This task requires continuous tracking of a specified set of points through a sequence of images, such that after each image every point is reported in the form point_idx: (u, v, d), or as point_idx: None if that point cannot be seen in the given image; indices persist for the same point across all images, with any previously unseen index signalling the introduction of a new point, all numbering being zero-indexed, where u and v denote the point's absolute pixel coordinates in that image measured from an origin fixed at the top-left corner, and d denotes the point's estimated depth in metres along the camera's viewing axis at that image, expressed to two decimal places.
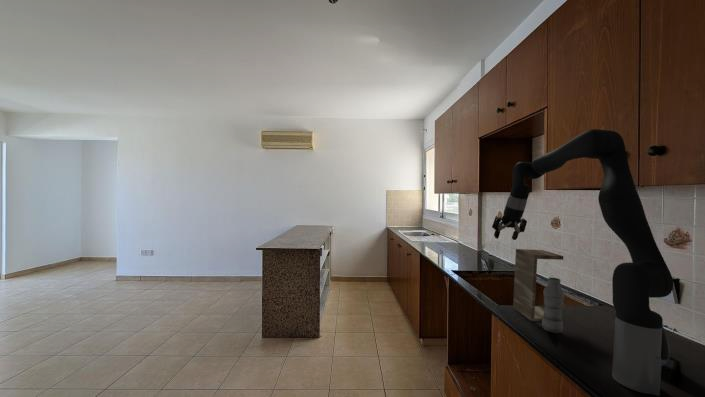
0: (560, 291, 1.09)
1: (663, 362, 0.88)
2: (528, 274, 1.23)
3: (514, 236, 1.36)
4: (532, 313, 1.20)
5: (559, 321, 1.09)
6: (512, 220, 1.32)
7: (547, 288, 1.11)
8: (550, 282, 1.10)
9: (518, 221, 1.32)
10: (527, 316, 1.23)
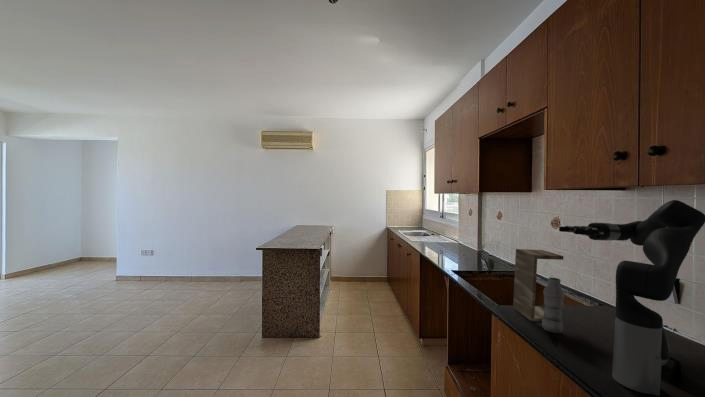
0: (560, 291, 1.09)
1: (663, 362, 0.88)
2: (528, 274, 1.23)
3: None
4: (532, 313, 1.20)
5: (559, 321, 1.09)
6: None
7: (547, 288, 1.11)
8: (550, 282, 1.10)
9: (594, 229, 1.24)
10: (527, 316, 1.23)
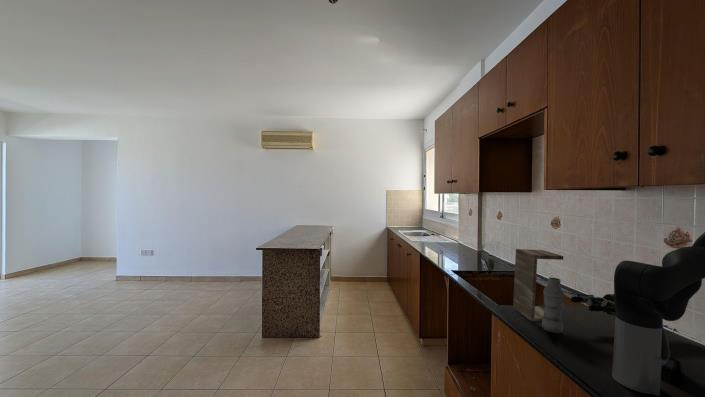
0: (560, 291, 1.09)
1: (663, 362, 0.88)
2: (528, 274, 1.23)
3: None
4: (532, 313, 1.20)
5: (559, 321, 1.09)
6: None
7: (547, 288, 1.11)
8: (550, 282, 1.10)
9: (612, 304, 1.09)
10: (527, 316, 1.23)
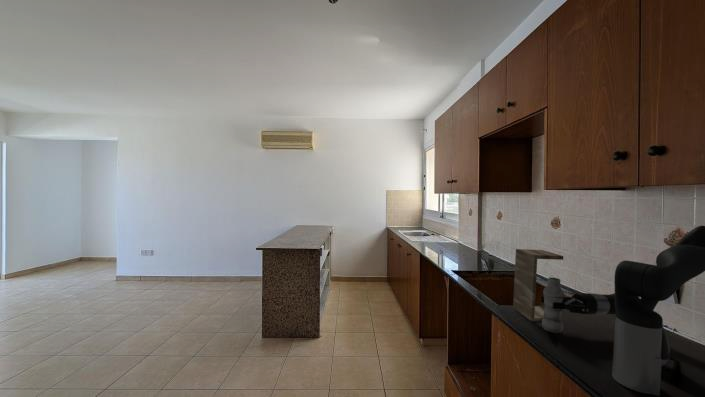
0: (560, 291, 1.09)
1: (663, 362, 0.88)
2: (528, 274, 1.23)
3: None
4: (532, 313, 1.20)
5: (559, 321, 1.09)
6: None
7: (547, 288, 1.11)
8: (550, 282, 1.11)
9: (578, 303, 1.08)
10: (527, 316, 1.23)
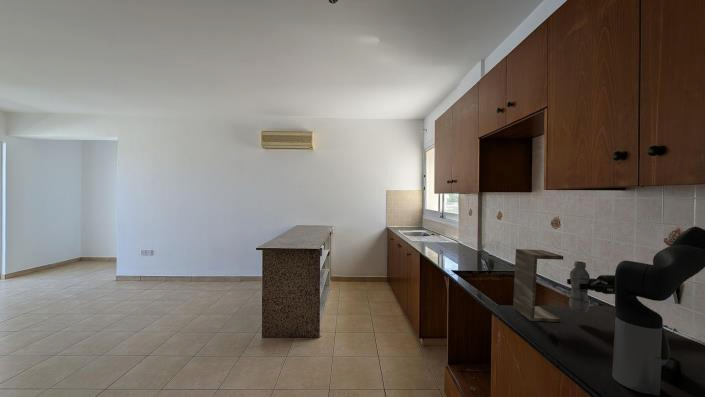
0: (586, 273, 1.18)
1: (663, 362, 0.88)
2: (528, 274, 1.23)
3: None
4: (532, 313, 1.20)
5: (585, 301, 1.18)
6: None
7: (573, 271, 1.21)
8: (576, 265, 1.20)
9: (603, 284, 1.18)
10: (527, 316, 1.23)
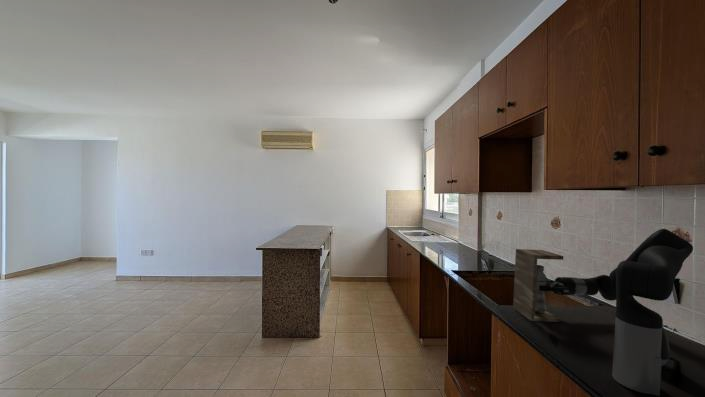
0: (543, 276, 1.24)
1: (663, 362, 0.88)
2: (528, 274, 1.23)
3: None
4: (532, 313, 1.20)
5: (543, 302, 1.24)
6: None
7: None
8: None
9: (560, 285, 1.24)
10: (527, 316, 1.23)
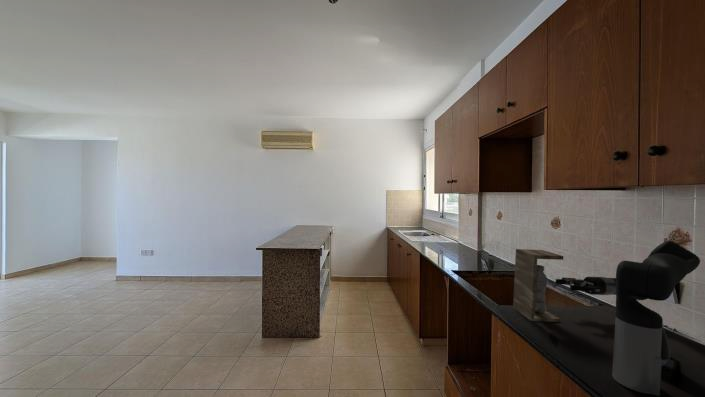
0: (544, 276, 1.24)
1: (663, 362, 0.88)
2: (528, 274, 1.23)
3: None
4: (532, 313, 1.20)
5: (543, 302, 1.24)
6: None
7: None
8: None
9: (590, 284, 1.25)
10: (527, 316, 1.23)
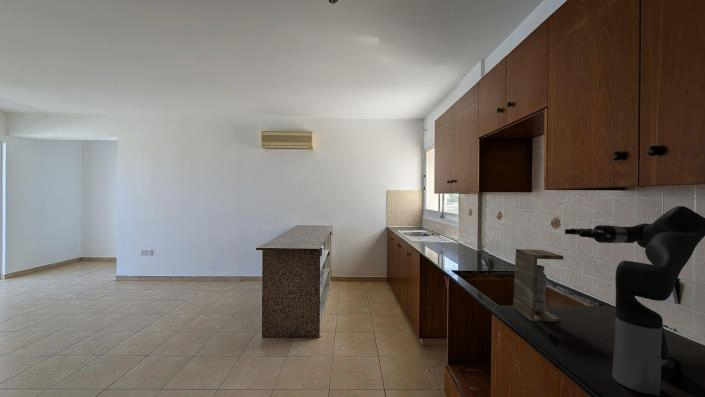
0: (544, 276, 1.24)
1: (663, 362, 0.88)
2: (528, 274, 1.23)
3: None
4: (532, 313, 1.20)
5: (543, 302, 1.24)
6: None
7: None
8: None
9: (600, 232, 1.24)
10: (527, 316, 1.23)
